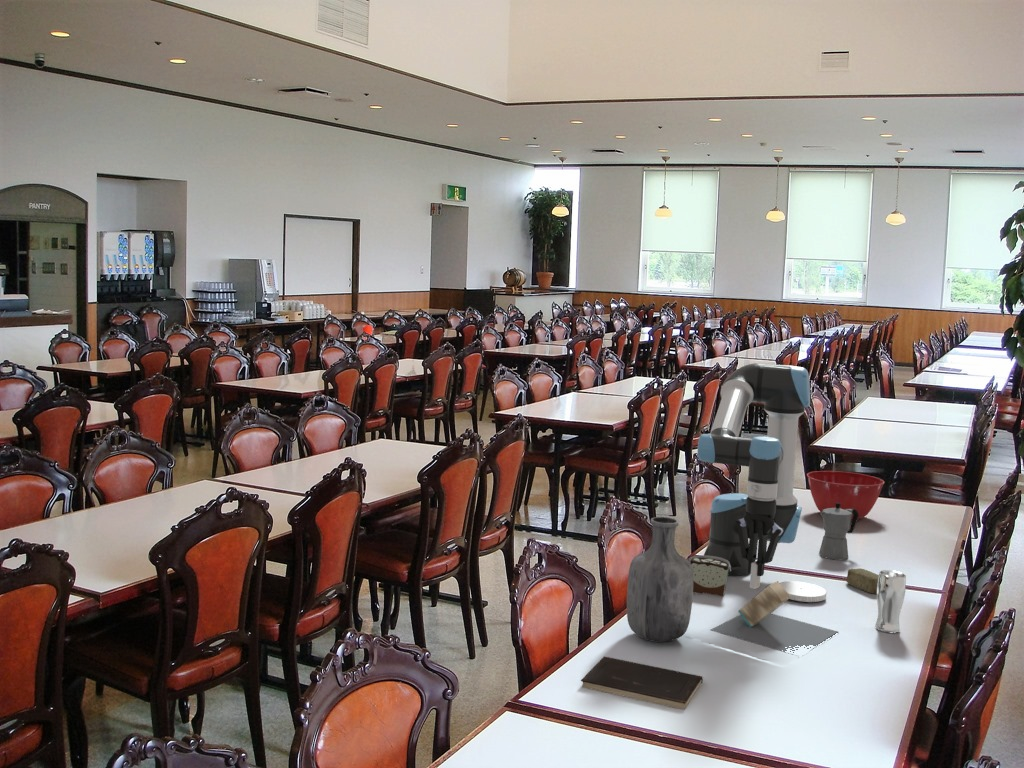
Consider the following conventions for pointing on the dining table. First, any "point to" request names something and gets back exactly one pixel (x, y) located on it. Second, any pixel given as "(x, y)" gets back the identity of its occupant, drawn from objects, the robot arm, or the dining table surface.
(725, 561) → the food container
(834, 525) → the coffeepot
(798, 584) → the plastic lid
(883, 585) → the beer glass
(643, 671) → the hardcover book
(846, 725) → the dining table surface
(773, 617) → the mat
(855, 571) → the stone block
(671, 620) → the vase
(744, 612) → the maple block
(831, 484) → the mixing bowl
